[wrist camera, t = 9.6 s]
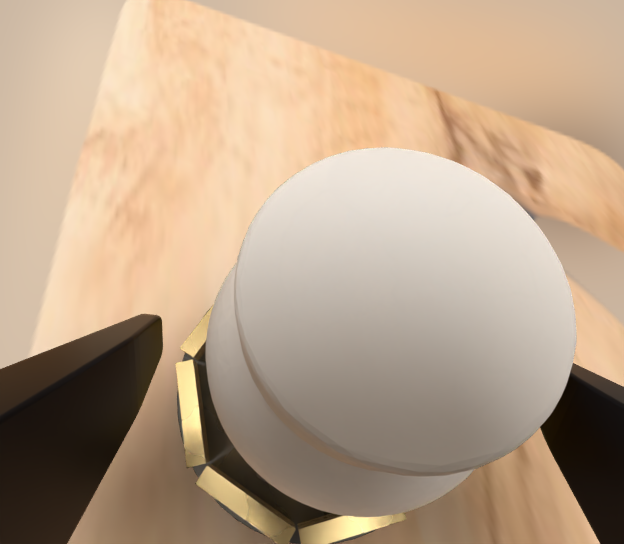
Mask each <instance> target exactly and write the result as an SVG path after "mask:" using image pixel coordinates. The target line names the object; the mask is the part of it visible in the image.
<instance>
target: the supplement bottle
mask: <svg viewBox="0 0 624 544" xmlns="http://www.w3.org/2000/svg"><path fill="white" fill-rule="evenodd" d="M575 347H576V318H575V309H574V304H573V299H572V293H571V289H570V286H569V283H568V281H567V278H566V275H565V272H564V270H563V267H562V265H561V263H560V261H559V259H558V257H557V255H556V253H555V251H554V250H553V248H552V246H551V244H550V243H549V241H548V239H547V238H546V236H545V235H544V233H543V232H542V231H541V229H540V228H539V227H538V225H537V224H536V223H535V222H534V221H533V219H532V218H531V217H530V216H529V215H528V214H527V212H526V211H525V210H524V209H523V208H522V207H521V206H520V205H519V204H518V203H517V202H516V201H515V200H514V199H513V198H512V197H511V196H510V195H508V194H507V193H506V192H505V191H503V190H502V189H501V188H500V187H498V186H497V185H495V184H494V183H493V182H491V181H490V180H488V179H487V178H485V177H484V176H482V175H480V174H479V173H477V172H475V171H473V170H471V169H469V168H467V167H465V166H463V165H461V164H459V163H456V162H454V161H451V160H448V159H446V158H443V157H440V156H436V155H433V154H429V153H426V152H420V151H415V150H408V149H399V148H388V147H384V148H366V149H359V150H352V151H347V152H344V153H340V154H336V155H333V156H330V157H327V158H325V159H322V160H320V161H318V162H316V163H314V164H312V165H310V166H308V167H306V168H305V169H303V170H302V171H300V172H298V173H296V174H295V175H293V176H292V177H291V178H289V179H288V180H287V181H286V182H284V183H283V184H282V185H281V186H280V187H278V188H277V189H276V190H275V191H274V193H273V194H272V195H271V196H270V197H269V198H268V199H267V200H266V202H265V203H264V204H263V206H262V207H261V208H260V210H259V211H258V213H257V214H256V216H255V217H254V219H253V221H252V222H251V224H250V226H249V228H248V231H247V233H246V236H245V238H244V240H243V243H242V246H241V249H240V252H239V255H238V259H237V262H236V264H235V265H234V267H233V268H232V269H231V271H230V272H229V274H228V276H227V277H226V279H225V281H224V282H223V284H222V286H221V288H220V291H219V293H218V295H217V297H216V300H215V303H214V305H213V308H212V312H211V315H210V319H209V324H208V330H207V338H206V368H207V376H208V384H209V388H210V393H211V397H212V401H213V404H214V407H215V409H216V412H217V415H218V418H219V420H220V422H221V424H222V427H223V429H224V431H225V432H226V434H227V436H228V437H229V439H230V441H231V442H232V444H233V445H234V447H235V448H236V450H237V451H238V452H239V454H240V455H241V456H242V457H243V458H244V460H245V461H246V462H247V463H248V464H249V465H250V466H251V467H252V468H253V469H254V470H255V471H256V472H257V473H258V474H259V475H260V476H261V477H262V478H263V479H265V480H266V481H267V482H268V483H269V484H271V485H272V486H274V487H275V488H276V489H278V490H279V491H281V492H282V493H284V494H286V495H287V496H289V497H291V498H293V499H295V500H297V501H299V502H301V503H303V504H305V505H308V506H310V507H313V508H316V509H318V510H321V511H325V512H329V513H333V514H337V515H344V516H355V517H379V516H387V515H394V514H399V513H404V512H408V511H411V510H413V509H416V508H419V507H422V506H424V505H426V504H429V503H431V502H433V501H435V500H437V499H439V498H440V497H442V496H444V495H445V494H447V493H448V492H450V491H451V490H452V489H454V488H455V487H456V486H458V485H459V484H460V483H461V482H463V481H464V480H465V479H466V478H467V477H468V476H469V475H470V474H471V473H472V472H473V471H474V470H475V469H477V468H479V467H481V466H484V465H486V464H488V463H490V462H493V461H495V460H497V459H499V458H501V457H504V456H505V455H507V454H508V453H510V452H512V451H513V450H515V449H517V448H518V447H519V446H520V445H522V444H523V443H524V442H525V441H526V440H528V439H529V438H530V437H531V436H532V435H533V434H534V433H535V432H536V431H537V430H538V429H539V428H540V426H541V425H542V424H543V423H544V422H545V421H546V420H547V418H548V417H549V416H550V415H551V413H552V412H553V410H554V408H555V407H556V405H557V403H558V402H559V400H560V398H561V396H562V394H563V391H564V389H565V387H566V384H567V381H568V378H569V375H570V371H571V368H572V364H573V359H574V353H575Z"/></svg>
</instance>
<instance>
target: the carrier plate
mask: <svg viewBox="0 0 624 544" xmlns="http://www.w3.org/2000/svg"><path fill="white" fill-rule="evenodd" d="M213 305H214V304H213ZM212 308H213V306H212V307H211V308H210V309H209V310H208V311H207V313H206V314H205V316H204V317H203V319H202V320H201V321H200V323H199V324H198V325H197V327H196V328H195V329H194V331H193V332H192V333H191V334H190V336H189V337H188V338H187V340H186V341H185V342H184V344H183V345H182V346H181V347H180V349H181V350H183V351H184V352H185V355H184V358H183V362H179V363H176V372H177V382H178V393H177V407H178V420H179V426H180V432H181V437H182V440H183V443H184V447H185V457H186V466H187V468H190V467H193V469H194V471H195V473H196V475H197V476H198V480H197V481H196V483H195V484H196V485H198V486H199V487H200V488H202V489H203V490H205V491H206V492H207V493H209V494H210V495H211V496H212V497H213V498H214V499H215V500H216V501H217V503H218V504H219V505H220V506H221V507H222V508H223V509H225V510H226V511H227V512H228V513H229V514H231V515H232V516H233V517H234V518H235V519H236V520H238V521H240V522H241V523H243V524H245V525H246V526H248V527H249V528H251V529H253V530H254V531H257V532H259V533H261V534H264V535H266V536H268V537H269V538H271V539H272V540H274V541H275V542H276V543H278V544H288V543H294V544H335V543H339V542H344V541H348V540H352V539H355V538H358V537H360V536H363V535H365V534H368V533H370V532H373V531H374V530H376V529H378V528H381V527H384V526H387V525H390V524H394V523H397V522H400V521H403V520H406V516H405V513H399V514H394V515H387V516H379V517H355V516H344V515H337V514H333V513H329V512H325V511H321V510H318V509H316V508H313V507H310V506H308V505H305V504H303V503H301V502H299V501H297V500H295V499H293V498H291V497H289V496H287V495H286V494H284V493H282V492H281V491H279V490H278V489H276V488H275V487H274V486H272V485H271V484H269V483H268V482H267V481H266V480H265V479H263V478H262V477H261V476H260V475H259V474H258V473H257V472H256V471H255V470H254V469H253V468H252V467H251V466H250V465H249V464H248V463H247V462H246V461H245V460H244V458H243V457H242V456H241V455H240V454H239V452H238V451H237V450H236V448H235V447H234V445H233V444H232V442H231V441H230V439H229V437H228V436H227V434H226V432H225V431H224V429H223V427H222V424H221V422H220V420H219V418H218V415H217V412H216V409H215V407H214V404H213V401H212V397H211V393H210V388H209V384H208V376H207V368H206V338H207V330H208V324H209V319H210V315H211V312H212Z"/></svg>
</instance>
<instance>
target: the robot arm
mask: <svg viewBox="0 0 624 544" xmlns="http://www.w3.org/2000/svg"><path fill="white" fill-rule="evenodd" d="M162 350H163V336H162V320H161V317H160V316H158V315H150V314H141V315H138V316H135V317H133V318H130V319H128V320H125V321H123V322H120V323H117V324H115V325H112V326H110V327H107V328H105V329H102V330H100V331H97V332H94V333H92V334H89V335H87V336H84V337H82V338H79V339H76V340H74V341H71V342H69V343H66V344H64V345H61V346H58V347H56V348H53V349H51V350H48V351H46V352H43V353H41V354H38V355H35V356H33V357H30V358H28V359H25V360H23V361H20V362H18V363H15V364H12V365H10V366H7V367H5V368H2V369H0V544H67V543H68V541H69V539H70V537H71V536H72V534H73V532H74V530H75V528H76V526H77V525H78V523H79V521H80V519H81V517H82V515H83V514H84V512H85V510H86V508H87V506H88V504H89V502H90V501H91V499H92V497H93V495H94V493H95V491H96V490H97V488H98V486H99V484H100V482H101V480H102V479H103V477H104V475H105V473H106V471H107V469H108V468H109V466H110V464H111V462H112V460H113V458H114V457H115V455H116V453H117V451H118V449H119V447H120V446H121V444H122V442H123V440H124V438H125V436H126V435H127V433H128V431H129V429H130V427H131V425H132V424H133V422H134V420H135V418H136V416H137V414H138V412H139V410H140V407H141V405H142V403H143V400H144V398H145V395H146V393H147V390H148V388H149V385H150V383H151V380H152V378H153V375H154V373H155V370H156V368H157V365H158V363H159V360H160V358H161V355H162ZM540 428H541V431H542V433H543V436H544V438H545V440H546V442H547V445H548V447H549V449H550V451H551V453H552V455H553V457H554V459H555V461H556V463H557V464H558V466H559V468H560V470H561V472H562V474H563V476H564V477H565V479H566V481H567V483H568V485H569V487H570V488H571V490H572V492H573V494H574V496H575V498H576V500H577V501H578V503H579V505H580V507H581V509H582V511H583V513H584V514H585V516H586V518H587V520H588V522H589V524H590V526H591V527H592V529H593V531H594V533H595V535H596V537H597V539H598V540H599V542H600V544H624V387H623V386H620V385H618V384H616V383H614V382H612V381H610V380H608V379H606V378H604V377H601V376H599V375H597V374H595V373H593V372H591V371H589V370H587V369H584V368H582V367H580V366H578V365H576V364H574V363H573V364H572V368H571V371H570V375H569V378H568V381H567V384H566V387H565V389H564V391H563V394H562V396H561V398H560V400H559V402H558V403H557V405H556V407H555V408H554V410H553V412H552V413H551V415H550V416H549V417H548V418H547V420H546V421H545V422H544V423H543V424H542V425H541V426H540Z"/></svg>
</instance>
